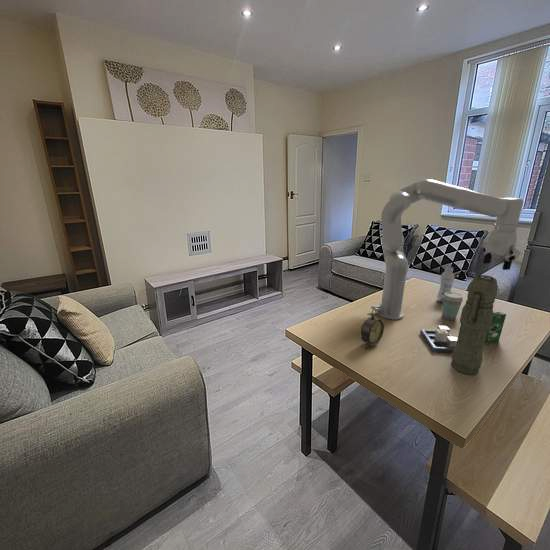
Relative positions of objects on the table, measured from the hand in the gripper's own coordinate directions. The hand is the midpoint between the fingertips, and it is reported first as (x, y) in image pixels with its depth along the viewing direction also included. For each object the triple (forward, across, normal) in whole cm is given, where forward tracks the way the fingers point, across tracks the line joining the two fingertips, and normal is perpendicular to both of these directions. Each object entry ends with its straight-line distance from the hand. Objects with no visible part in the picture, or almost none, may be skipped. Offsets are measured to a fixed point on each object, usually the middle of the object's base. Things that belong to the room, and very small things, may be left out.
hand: (495, 266), depth 129 cm
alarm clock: (+29, +7, -61) cm, 67 cm away
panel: (+28, +12, -32) cm, 44 cm away
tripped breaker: (+27, +12, -32) cm, 43 cm away
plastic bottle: (+29, -26, 0) cm, 39 cm away
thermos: (+29, +28, -35) cm, 53 cm away
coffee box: (+29, +14, -11) cm, 34 cm away
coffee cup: (+29, -9, -11) cm, 32 cm away
